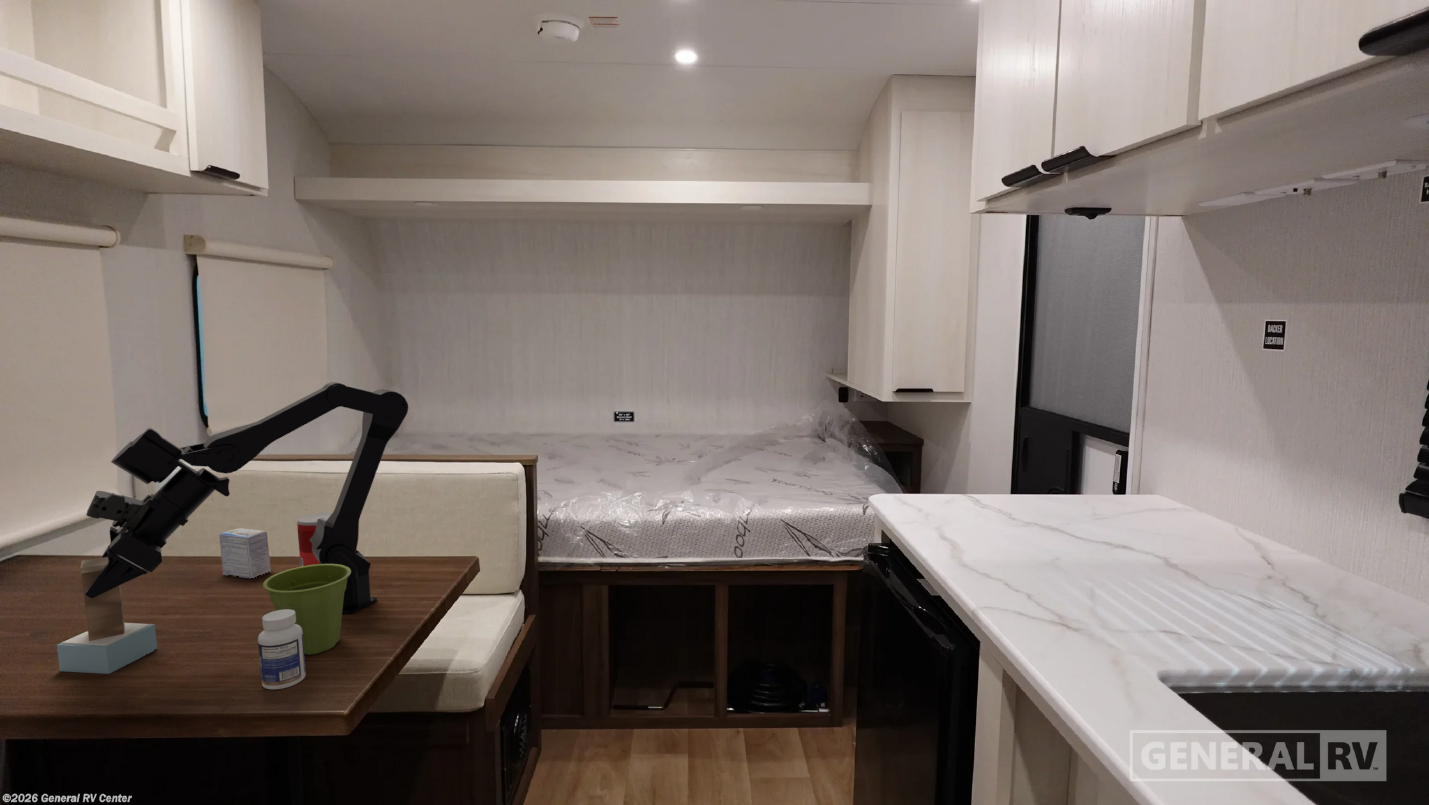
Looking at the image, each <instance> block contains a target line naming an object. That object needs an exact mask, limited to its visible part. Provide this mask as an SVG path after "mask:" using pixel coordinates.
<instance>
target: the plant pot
mask: <svg viewBox="0 0 1429 805" xmlns="http://www.w3.org/2000/svg"><path fill="white" fill-rule="evenodd" d="M350 574H351V569H350V568H349V567H347V566H344V565H339V564H317V565H308V566H302V567H301V566H298V567H294V568H289V569H286V570H283V571H280V572H277V573H276V574H272V575H271V576H270V577H268V578H267V579H265V580H264V582H263V583H262V587H263V589H264V590H265V591H267V592H268V595H269V598H270V601H271V603H272V604H273V606H274V607H273V608H274V611H277V610H283V609H290V610H294V611H295V614H296V622H295V623H294V624H297V625H299V626H300V627H301V628H302V632H303V644H304V655H309V656H310V655H317V654H320V653H322V652H325V651H328V650H330V649H331V648H334V647H335V646H336V644H337V643H338V642H339V641H340V637H341V636H340V635H341V628H342V627H341V625H342V617H343V612H342V609H343V599H344V591H345V590H346V584H347V578H348V577H349V575H350Z"/></svg>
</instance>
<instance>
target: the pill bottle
mask: <svg viewBox="0 0 1429 805" xmlns="http://www.w3.org/2000/svg"><path fill="white" fill-rule="evenodd" d="M261 619H262V628H263V630H262V631H261V632H260V633H259V635H258V636H257V643H258V644H257V645H258V654H259V655H258V657H259V658H258V659H259V667H260V679H261V684H262V687H263V688H264V689H268V690H280V689H286V688H291V687H293V686H295V685H298V684H299V683H300V682H302V681H303V680H304V679H305V677H306V674H307V673H306V672H307V671H306V660H305V658H306V657H305V654H304V644H303V632H302V628H301V627H300V626H299V625H297V624H294V623H295V622H296V614H295V611H294V610H290V609H283V610H277V611H275V610H273V611H271V612H267V613H266V614H264V615H263V616H262V618H261Z"/></svg>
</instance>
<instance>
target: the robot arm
mask: <svg viewBox="0 0 1429 805" xmlns="http://www.w3.org/2000/svg"><path fill="white" fill-rule="evenodd" d="M339 407H341V408H346V409H350V410H355V411H358V412H363V413H362V421H361V422H362V424H361V426H362V427H361V438H360V439H359V440H360V441H359V443H358V444H357V448H356V451H355V453H354V456H353V459H352V461H351V464H350V467H349V468H348V469H349V470H348V472H347V475H346V477H345V480H344V483H343V486H342V488H341V491H340V494H339V497H338V499H337V501H336V502H337V503H336V505H335V508H334V509H333V511H332V512H331V513H332V514H331V516H330V517H329V518H328V519H327V521H324V520H322V519H318V521H317V525H316V530H315V533H314V535H313V536H312V537H311V538H310V541H311V543H312V544H313V545H312V551H313V554H314V555H315V557H316V558H317V560H318V561H319V562H320V564H339V565H344V566H347V567H349V568H350V569H351V574H350V575H349V577H348V578H347V584H346V590H345V591H344V599H343V609H342V613H345V614H353V613H355V612H357V611H359V610H361V609H363V608H366V607H367V606H369V605H371V604H372V603H375V602H377V601H378V597H376V596H371V584H370V568H371V561H369V560H368V559H367V558H366V557H365V555H363V554H362V553H361V552H360V551H359V550H358V549H357V548H358V544H359V537H360V536H359V530H360V518H361V515H362V512H363V510H364V507H365V504H366V502H367V499H368V497H369V492H370V490H371V488H372V485H373V482H374V479H375V477H376V474H377V471H378V468H379V467H380V463H381V460H382V457H383V455H384V452H385V450H386V449H385V448H386V447H387V444H388V443H389V441H390V440H391V439H392V438H393V437H394V435H395V434H396V433H397V432H398V430H399V428H400V427H401V426H402V424H403V422H404V420H405V418H406V417H407V415H408V410H409V403H408V401H407V399H406V398H405V397H404V396H403V394H401V393H399V392H397V391H392V390H389V389H384V388H382V389H377V390H374V391H369V390H368V391H367V390H366V389H360V388H355V387H351V386H348V385H345V384H343V383H340V382H334V381H331V382H328V383H325V385H323V387H321V388H319V389H317V390H315V391H314V392H312V393H310V394H307V395H306V396H304V397H302V398H300V399H298V400H296V401H294V402H292V403H290V404H288V405H286V406H285V407H282V408H281V409H278V410H277V411H275V412H273V413H271V414H269V415H267V416H265V417H263V418H261V419H260V420H258V421H255V422H252V423H248V424H245V425H242V426H241V425H240V426H237V427H233V428H231V429H228V430H225V431H221V432H219V433H216V434H213V435H211V436H210V437H208V438H207V439H206V440H205V441H204V442H201V443H197V444H192V445H186V446H183V447H178V446H177V445H176V444H174V443H172V442H171V441H169V440H168V439H166V438H164V437H163V436H162V435H161V434H160V433H159V432H158V431H157V430H155V429H153V428H152V427H147V429H146V430H144V432H142V433H141V434H139V435H138V436H137V437H136V438H135V439H133V441H132V440H130V442H128V443H127V444H126V445H125V446H124V447H123V448H122V449H121V450H120V451H119V452H118V453H116V455H115V456H114V457H113V458H112V459H111V461H110V463H111V464H113V465H115V466H116V467H118V468H120V469H122V470H123V471H125V473H128V474H130V475H131V476H132V477H135V478H136V479H137V480H139V481H140V482H143V484H146V485H149V484H151V483H152V482H153V483H155V484H156V483H158V484H161V483H163V482H164V481H165V480H166V479H167V478H168V477H169V476H170V475H171V474H172V473H173V472H174V471H175V470H176V469H177V468H180V469H179V470H178V471H176V472H175V473H174V474H173V475H172V477H170V479H169V480H168V481H166V482H165V484H163V485H162V486H161V487H160V488H159V489H158V490H157V491H156V492H155V493H151V494H147V495H146V496H144V498H143V499H142V500H141V499H137V498H134V497H129V496H125V495H121V494H117V493H114V492H107V491H103V490H96V492H95V493H94V496H93V498H92V500H91V502H90V505H89V506H88V508H87V511H86V514H85V515H86V516H87V517H88V518H93V519H104V520H110V521H112V523H111V524H112V526H110V527H109V538H110V540H109V541H110V543H109V545H108V546H107V547H106V549H105V551H104V552H103V554H102V555H101V557H100V558H104V557H108V562H107V564H106V565H105V567H104V568H103V569H102V571H101V572H100V574H99V575H98V576H97V578H96V579H95V580H94V582H93V583H92V585H91V586H90V587H89V589H88V590H87V592H86V593H85V595H86V596H87V597H89V598H94V597H96V596H99V595H101V594H103V593H105V592H107V591H109V590H111V589H113V588H115V587H117V586H119V585H120V586H121V585H123V584H126V583H127V582H130V581H132V580H134V579H136V578H139V577H140V576H143V575H147V574H148V573H153V572H154V571H155V570H156V568H158V567H159V566H160V564H162V562H163V559H162V548H163V547H164V546H165V545H166V544H167V543H168V542H167V539H169V538H170V536H171V535H172V534H174V533H175V531H177V529H178V528H179V527H180V526H182V527H184V526H185V525H186V524H187V523H188V522H189V519H188V518H189V517H190V516H191V515H193V513H195V511H196V510H197V509H198V508H200V506H201V505H203V503H204V502H205V501H206V500H207V499H208V498H209V497H210V496H211V495H212V494H213V492H215V491H216V492H218V493H220V494H221V495H223V496H224V497H229V496H230V493H231V492H230V488H229V485H230V478H229V477H228V476H224V477H218V476H217V475H216V474H214V473H212V472H211V471H213V472H216V473H218V474H219V473H220V474H226V475H228V474H231V473H234V472H238V471H239V470H241V468H243V467H245V465H247V464H248V463H249V462H251V461H252V460H254V459H255V458H256V457H257V456H258V455H260V453H261V452H263V451H264V450H265V448H267V447H268V446H270V445H271V444H272V443H273V442H275V441H278V440H280V438H283V437H285V436H286V435H289V434H290V433H292V432H294V431H296V430H298V429H299V428H301V427H303V426H305V425H307V424H308V423H310V422H312V421H314V420H316V419H318V418H320V417H321V416H324V415H326V414H328V413H329V412H331V411H332V410H335V409H337V408H339ZM181 460H182V461H181ZM183 461H184V462H186V463H187V464H186V463H184V462H183ZM188 464H189V465H188ZM190 466H193V467H202V468H200V469H199V470H196V469H194V468H192V467H190ZM204 467H207V468H209V469H210V470H211V471H209V470H207V469H206V468H204Z"/></svg>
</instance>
